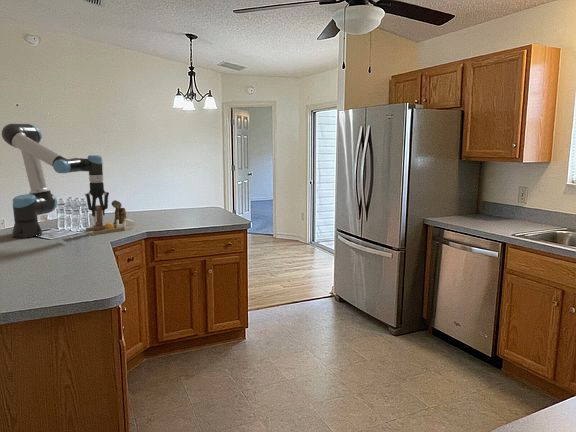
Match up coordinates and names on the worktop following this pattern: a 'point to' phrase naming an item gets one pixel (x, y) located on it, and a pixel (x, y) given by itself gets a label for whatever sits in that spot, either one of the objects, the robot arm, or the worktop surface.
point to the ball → (109, 226)
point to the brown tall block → (98, 219)
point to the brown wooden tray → (115, 228)
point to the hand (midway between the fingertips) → (98, 221)
